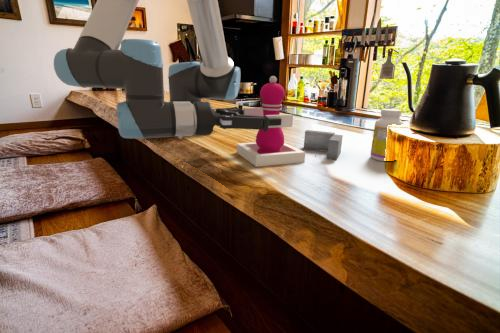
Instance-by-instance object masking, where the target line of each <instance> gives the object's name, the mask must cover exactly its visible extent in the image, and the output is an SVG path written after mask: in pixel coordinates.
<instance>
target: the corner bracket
mask: <svg viewBox="0 0 500 333" xmlns="http://www.w3.org/2000/svg"><path fill="white" fill-rule="evenodd" d="M342 144H343V134H336V133H335V132H331V131H320V130H309V129H306V130H305V131H304V140H303V149H304V150H307V149H308V150H314V151H320V152H321V151H323V152H327V157H326V158H327V159H328V160H332V161H333V160H335V161H338V158H339V156H340V155H341V152H342Z"/></svg>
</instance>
